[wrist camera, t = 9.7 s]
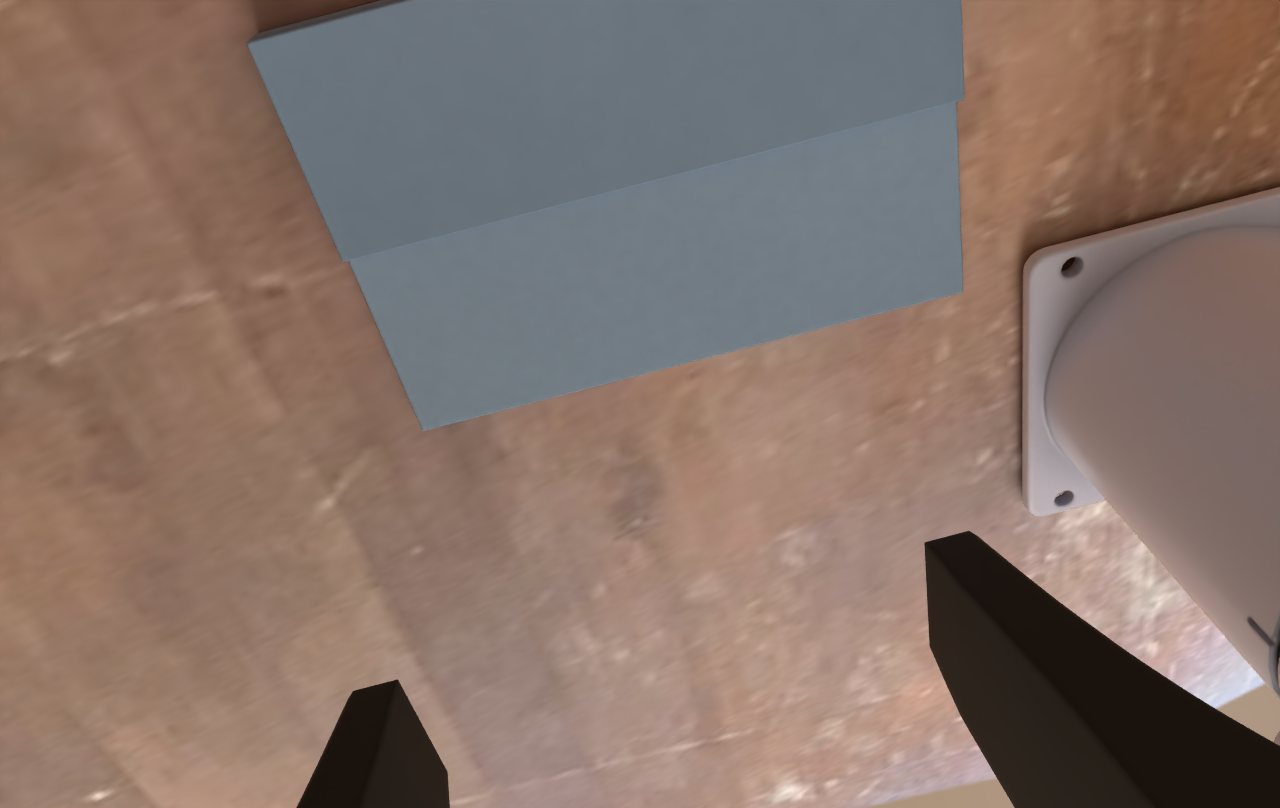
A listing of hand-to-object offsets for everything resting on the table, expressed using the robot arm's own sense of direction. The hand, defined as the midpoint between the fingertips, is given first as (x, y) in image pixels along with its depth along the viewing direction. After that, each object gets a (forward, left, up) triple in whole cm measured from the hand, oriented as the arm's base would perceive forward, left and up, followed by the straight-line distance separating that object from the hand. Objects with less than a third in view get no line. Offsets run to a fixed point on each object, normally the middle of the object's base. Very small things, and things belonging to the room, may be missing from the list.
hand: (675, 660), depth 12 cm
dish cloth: (-2, -3, -10) cm, 11 cm away
